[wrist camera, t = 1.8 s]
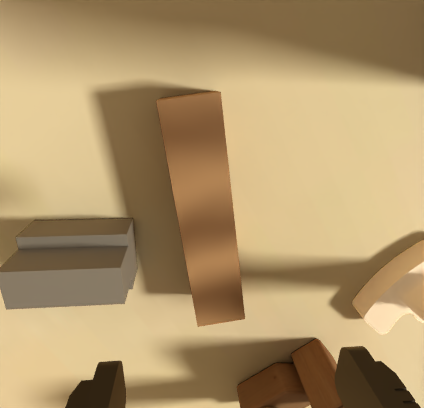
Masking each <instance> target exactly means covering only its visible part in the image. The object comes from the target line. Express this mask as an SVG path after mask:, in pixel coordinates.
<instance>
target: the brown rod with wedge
mask: <svg viewBox="0 0 424 408" xmlns="http://www.w3.org/2000/svg"><path fill="white" fill-rule="evenodd" d="M291 356H292V359H293V362H294V364H289V363H275V364H273V365H271V366H270V367H268V368H266V369H265V370H263V371H261V372H260V373H258V374H256V375H254V376H253V377H251V378H249V379H248V380H246V381H244V382H243V383H241V384H239V385H238V386H237V391H238V397H239V403H240V408H305V407H307V406H309V405H311V407H312V408H344V406H343V404H342V402H341V400H340V398H339V396H338V393H337V390H336V387H335V372H336V368H337V364H336V362H335V360H334V358H333V356H332V355H331V354H330V352H329V351H328V350H327V349H326V347H325V346H324V345H323V344H322V342H321V341H320V340H319V339H315V340H313V341H311V342H309V343H308V344H306V345H304V346H303V347H301V348H299V349H298V350H296V351H294V352H293V353H292V354H291Z"/></svg>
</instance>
